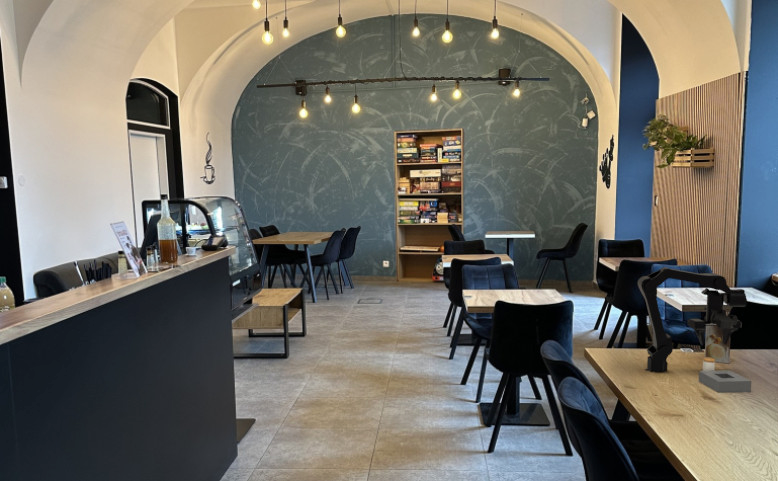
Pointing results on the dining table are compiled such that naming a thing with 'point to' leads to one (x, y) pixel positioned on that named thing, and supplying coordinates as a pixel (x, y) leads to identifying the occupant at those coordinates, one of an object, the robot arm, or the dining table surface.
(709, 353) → the coffee box
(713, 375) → the header
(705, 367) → the plug
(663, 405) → the dining table surface
